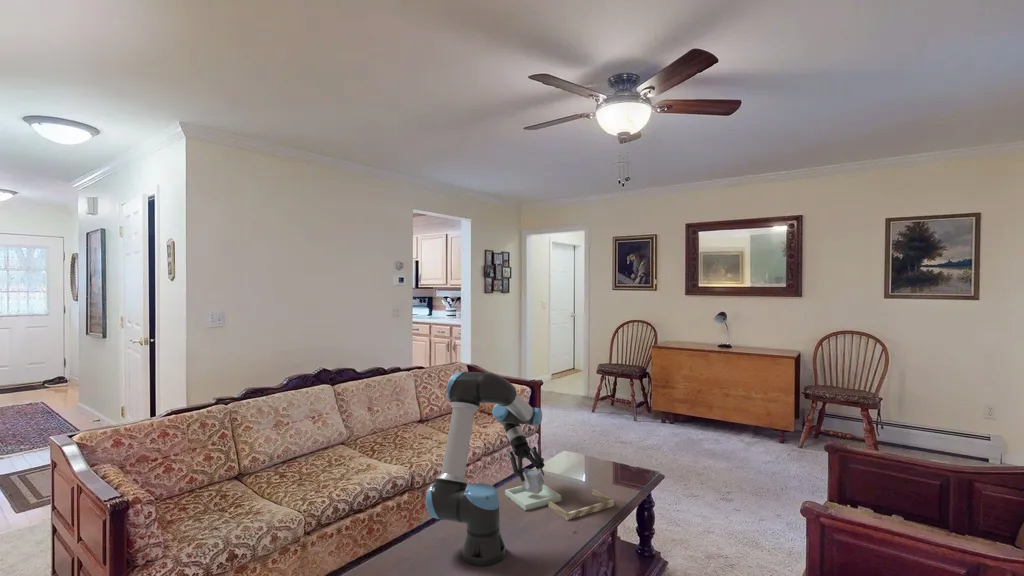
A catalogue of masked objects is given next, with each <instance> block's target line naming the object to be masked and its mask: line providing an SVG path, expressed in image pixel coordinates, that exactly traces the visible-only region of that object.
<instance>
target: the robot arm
mask: <svg viewBox="0 0 1024 576" xmlns="http://www.w3.org/2000/svg"><path fill="white" fill-rule="evenodd" d="M445 392H446V398H447V399H448V401H449V405H450V406H451V408H452V411H451V416H450V417H451V418H450V422H449V429H448V434H447V439H446V445H445V451H444V455H443V461H442V467H441V473H440V474H439V475H438V476H436V477H435V482H433V483H431V484H430V485H429V487H428V489H427V491H426V494H425V495H426V496H425V506H426V509H427V513H428V515H429V516H430V517H431V518H434V519H437V520H439V521H448V522H455V523H460V524H466V535H465V538H464V542H463V545H462V548H461V549H462V550H461V552H462V553H461V554H462V558H463V559H462V560H464V561H465V562H466V563H468V564H469V565H472V566H477V567H478V566H481V567H482V566H483V567H485V566H492V565H494V564H496V563H498V562H500V561H502V560H503V559H504V558H505V556H506V544H505V541H504V539H503V536H502V533H501V529H500V528H501V527H500V526H501V525H500V521H501V520H500V499H499V492H498V490H497V489H496V487H495V486H493V485H491V484H488V483H485V482H478V483H477V482H474V483H470V484H468V482H467V481H468V480H466V478H465V474H466V473H465V472H466V468H467V462H468V454H469V449H470V443H471V436H472V431H473V423H474V418H475V413H476V411H478V410H479V409H480V406H481V405H480V404H495V405H494V406H493V407H492V410H491V412H492V416H493V417H494V419H495V420H496V421H497V422H498V423H500V424H501V426H503V428H504V430H505V433H506V436H507V438H508V441H509V442H510V443H509V444H510V446H511V449H512V450H513V451H510V452H509V453H508V458H510V462H511V467H512V470H513V475H515V476H516V475H517V476H518V477H519V478H520V481H521V482H524V484H525V487H526V489H528V488H529V487H530V485H529V482H528V480H527V477H526V475H525V472H523V471H524V470H523V459H526V460H528V461H529V462H530V463H531V464H532V465H533V467H535V470H536V471H541V472H542V485H545V484H546V482H547V480H546V478H545V473H544V470H543V468H544V467H546V466H545V463H544V461H543V459H542V458H541V456H540V454H539V451H537V447H536V446H533V447H530V445H529V444H528V440H527V439H526V436H525V432H524V430H523V428H522V427H521V425H526V426H527V425H528V426H539V425H541V424H542V422H543V412H542V409H541V408H539V407H532V406H531V405H530V404H529V403H528V402H527V401H526V400H525V399H524V398H523V397H522V396H521V395H520V394H519V393H518V392H517V388H516V387H515V385H513V384H512V383H511V382H510V381H508V380H507V379H505V378H504V377H502V376H500V375H498V374H495V373H492V372H480V371H479V372H477V371H476V372H475V371H457V372H455V373H453V374H452V375H451V376H450V377H449V379H448V382H447V385H446V390H445ZM515 456H516V457H517V459H516V457H515ZM522 472H523V473H522Z"/></svg>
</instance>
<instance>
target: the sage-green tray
mask: <svg viewBox="0 0 1024 576" xmlns="http://www.w3.org/2000/svg"><path fill="white" fill-rule="evenodd" d="M504 493H505V494H504V495H506V496H505V497H507V498H508V499H509V498H510V499H511V500H510V499H509V500H510V501H512V502H513V503H514V502H515V503H514V504H516V505H517V506H518V507H519V506H520V507H519V508H521V509H522V510H523V509H524V510H523V511H525V512H526V510H527V511H531V510H534V509H538V508H540V507H544V506H549V501H551V502H553V503H554V504H556V503H560V502H562V495H561V494H560V493H558V492H557V491H555V490H554V489H552V488H551V487H549V486H547V485H545V484H544V485H542V491H541V492H540V493H539V494H535V493H531V492H526V491H523V486H522V485H519V486H516V487H512V488H508V489H505V490H504ZM537 507H538V508H537ZM530 509H531V510H530Z"/></svg>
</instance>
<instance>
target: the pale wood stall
mask: <svg viewBox="0 0 1024 576" xmlns="http://www.w3.org/2000/svg"><path fill="white" fill-rule="evenodd" d="M591 492H592V493H591V494H592V495H591V496H593V497H595V498H596V499H599V501H602V502H598V503H595V504H592V505H589V506H585V507H582V508H579V509H575V510H572V511H568V512H567V511H566V510H565V509H563V508H562V507H560V506H559V505H557V504H556V503H553V502H551V501H549V504H548V508H549V509H550V510H551V511H552V512H554V513H556V514H557V513H558V515H559V516H560V517H561V518H563V519H564V518H565V519H564V520H565V521H570V520H573V519H576V518H575V517H577V518H579V517H578V516H580V517H582V515H583V516H586V515H590V514H592V512H593V513H596V512H599V511H603V510H605V509H610V508H613V507H615V500H614V499H612V498H610V497H609V496H607V495H605V494H604V493H602V492H600V491H599V490H596V489H594V488H593V489H591ZM612 506H613V507H612ZM589 513H590V514H589ZM572 518H573V519H572ZM569 519H570V520H569Z"/></svg>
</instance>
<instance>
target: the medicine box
mask: <svg viewBox="0 0 1024 576" xmlns="http://www.w3.org/2000/svg"><path fill="white" fill-rule="evenodd" d="M523 472H525V475H526V477H527V480H528V482H529V485H530V487H529V488H528V489H526V487H525V484H524V482H522V481H521V482H522V484H521V486H523V491H526V492H531V493H535V494H539V493H540V492H541V491H542V472H541V471H538V470H537V469H535V470H534V469H530V468H525V469H524V470H523ZM523 472H522V473H523Z"/></svg>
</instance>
